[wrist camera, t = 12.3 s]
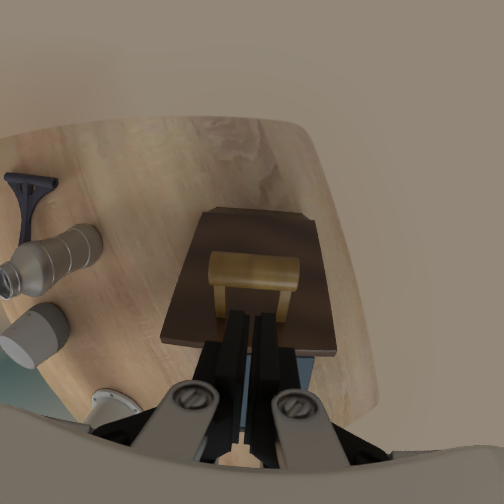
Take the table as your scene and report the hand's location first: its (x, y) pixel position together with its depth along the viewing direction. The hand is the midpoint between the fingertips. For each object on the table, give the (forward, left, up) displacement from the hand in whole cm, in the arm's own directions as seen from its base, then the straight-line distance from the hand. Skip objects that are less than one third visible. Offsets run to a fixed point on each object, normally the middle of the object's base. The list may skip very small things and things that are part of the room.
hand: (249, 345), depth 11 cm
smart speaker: (-20, +37, -30) cm, 52 cm away
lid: (-1, 0, -14) cm, 14 cm away
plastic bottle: (-4, +26, -30) cm, 40 cm away
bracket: (0, +41, -30) cm, 51 cm away
